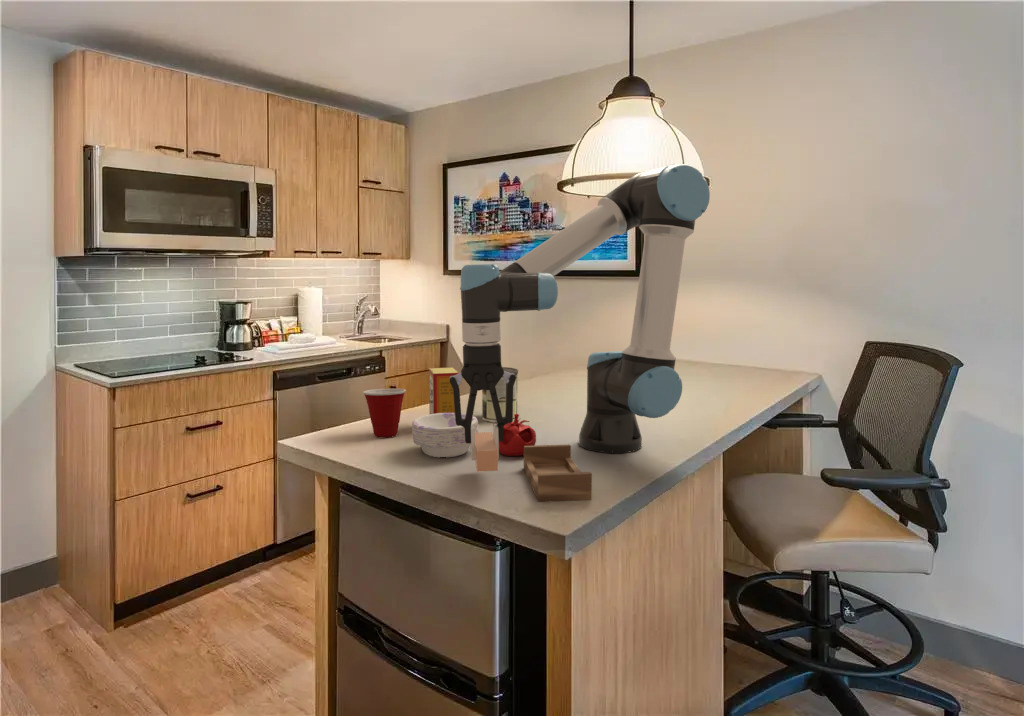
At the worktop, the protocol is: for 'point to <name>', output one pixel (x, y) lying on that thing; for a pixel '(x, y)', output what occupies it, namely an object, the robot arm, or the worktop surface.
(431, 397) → the baking soda box
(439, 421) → the paper bowls
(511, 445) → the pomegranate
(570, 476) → the wooden crate tray
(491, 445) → the orange rectangular block
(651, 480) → the worktop surface
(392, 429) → the plastic cup
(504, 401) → the coffee can
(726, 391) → the worktop surface
